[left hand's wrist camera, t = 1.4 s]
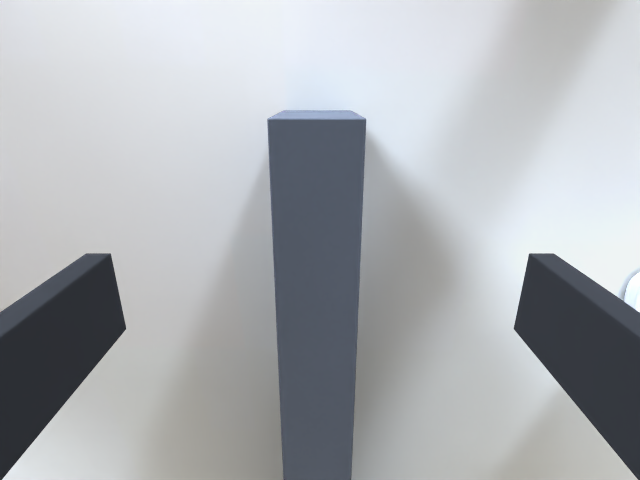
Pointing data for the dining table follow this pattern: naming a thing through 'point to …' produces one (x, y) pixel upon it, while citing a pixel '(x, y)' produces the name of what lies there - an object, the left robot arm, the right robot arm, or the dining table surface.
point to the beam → (317, 284)
